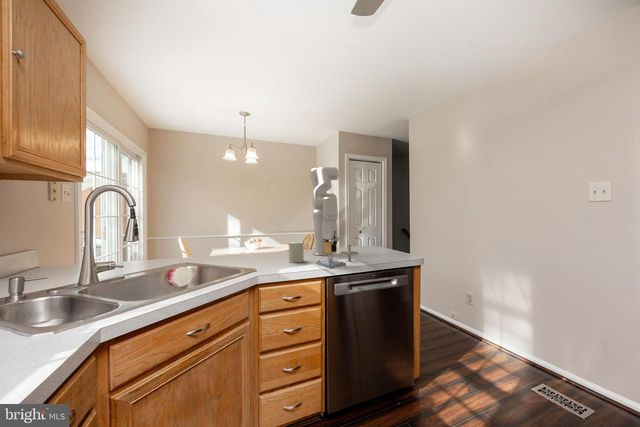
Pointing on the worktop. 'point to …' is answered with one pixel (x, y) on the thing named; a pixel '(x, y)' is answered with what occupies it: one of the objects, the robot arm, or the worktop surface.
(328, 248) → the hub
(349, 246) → the pipe connector
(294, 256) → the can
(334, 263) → the shaft stand
